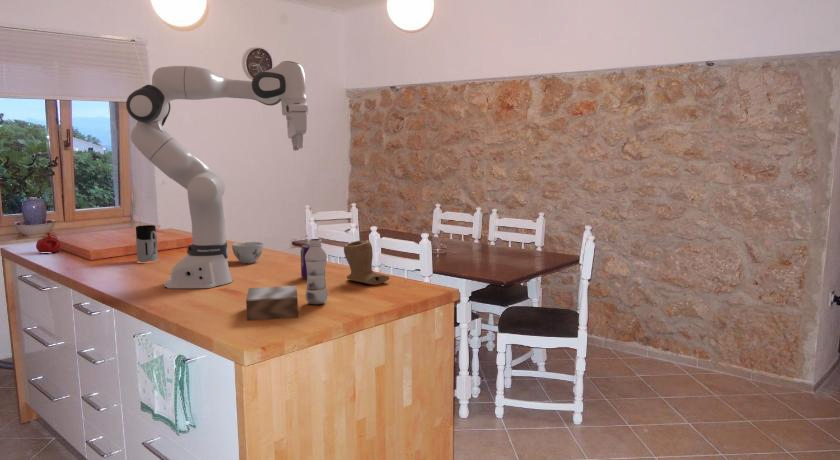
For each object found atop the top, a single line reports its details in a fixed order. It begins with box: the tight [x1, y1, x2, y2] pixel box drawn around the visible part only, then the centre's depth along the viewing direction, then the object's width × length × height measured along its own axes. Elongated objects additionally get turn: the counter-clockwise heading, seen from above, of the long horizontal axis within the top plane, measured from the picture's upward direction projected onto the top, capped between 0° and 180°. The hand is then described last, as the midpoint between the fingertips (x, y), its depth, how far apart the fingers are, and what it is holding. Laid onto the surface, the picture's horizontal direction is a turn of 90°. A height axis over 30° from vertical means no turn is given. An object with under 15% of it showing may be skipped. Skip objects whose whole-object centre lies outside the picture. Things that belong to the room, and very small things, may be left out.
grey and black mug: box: [135, 224, 159, 262], centre depth 254 cm, size 9×14×15 cm, turn 46°
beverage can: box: [300, 243, 310, 280], centre depth 225 cm, size 7×7×12 cm
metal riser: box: [245, 285, 299, 321], centre depth 179 cm, size 14×14×6 cm
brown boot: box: [343, 239, 390, 286], centre depth 217 cm, size 15×12×15 cm
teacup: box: [231, 241, 264, 264], centre depth 255 cm, size 15×12×8 cm
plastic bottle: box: [305, 238, 328, 305], centre depth 187 cm, size 6×7×20 cm
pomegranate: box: [35, 232, 61, 253], centre depth 279 cm, size 10×10×9 cm
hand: (297, 149), depth 213 cm, fingers open, 8 cm apart
